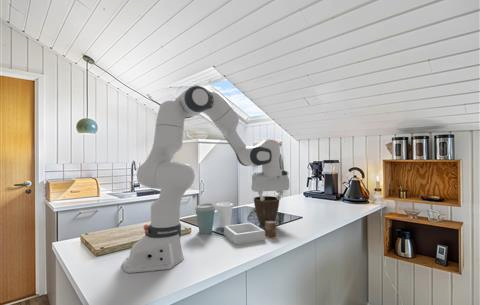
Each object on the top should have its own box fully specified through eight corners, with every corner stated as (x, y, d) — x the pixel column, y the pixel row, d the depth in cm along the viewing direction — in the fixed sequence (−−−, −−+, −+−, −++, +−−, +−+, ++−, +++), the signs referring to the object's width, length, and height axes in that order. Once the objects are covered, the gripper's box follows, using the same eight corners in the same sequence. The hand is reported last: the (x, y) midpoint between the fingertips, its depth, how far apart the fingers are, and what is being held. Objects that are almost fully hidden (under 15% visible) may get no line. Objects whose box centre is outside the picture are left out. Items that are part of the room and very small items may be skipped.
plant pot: (266, 231, 138) (266, 201, 138) (248, 225, 150) (248, 198, 149) (285, 226, 148) (285, 198, 148) (266, 221, 159) (266, 195, 159)
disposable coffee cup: (203, 237, 128) (203, 207, 128) (191, 233, 136) (191, 204, 136) (219, 232, 136) (219, 204, 136) (206, 228, 143) (206, 201, 143)
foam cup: (233, 224, 151) (233, 202, 151) (231, 229, 141) (231, 206, 141) (217, 224, 152) (217, 202, 152) (214, 229, 142) (214, 205, 142)
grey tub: (235, 245, 117) (235, 234, 117) (224, 235, 131) (224, 226, 131) (264, 241, 123) (264, 230, 123) (250, 232, 137) (250, 222, 137)
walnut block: (269, 237, 126) (269, 223, 126) (265, 235, 130) (265, 221, 130) (276, 236, 128) (276, 222, 128) (271, 234, 132) (271, 220, 132)
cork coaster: (267, 240, 124) (267, 239, 124) (259, 235, 131) (259, 234, 131) (281, 238, 127) (281, 237, 127) (273, 233, 134) (273, 232, 134)
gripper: (255, 173, 122) (254, 202, 121) (291, 172, 130) (291, 199, 130) (249, 172, 127) (249, 200, 127) (284, 171, 136) (284, 197, 135)
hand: (270, 199), depth 128 cm, fingers open, 8 cm apart
